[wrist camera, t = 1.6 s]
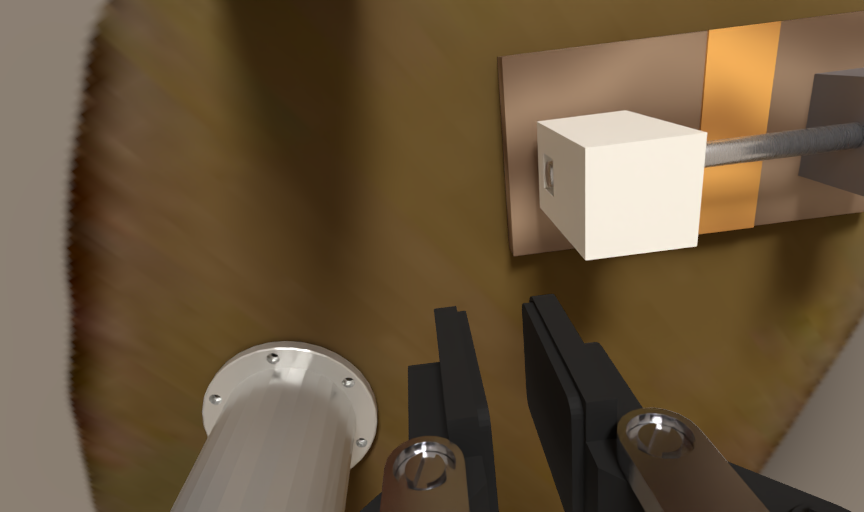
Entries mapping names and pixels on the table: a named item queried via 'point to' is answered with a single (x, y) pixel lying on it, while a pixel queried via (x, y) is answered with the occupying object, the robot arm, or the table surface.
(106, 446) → the table surface
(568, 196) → the sleeve
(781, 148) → the metal rod
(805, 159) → the connector block
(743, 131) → the board
